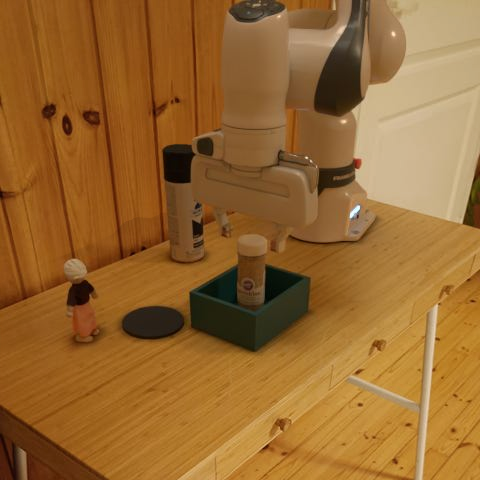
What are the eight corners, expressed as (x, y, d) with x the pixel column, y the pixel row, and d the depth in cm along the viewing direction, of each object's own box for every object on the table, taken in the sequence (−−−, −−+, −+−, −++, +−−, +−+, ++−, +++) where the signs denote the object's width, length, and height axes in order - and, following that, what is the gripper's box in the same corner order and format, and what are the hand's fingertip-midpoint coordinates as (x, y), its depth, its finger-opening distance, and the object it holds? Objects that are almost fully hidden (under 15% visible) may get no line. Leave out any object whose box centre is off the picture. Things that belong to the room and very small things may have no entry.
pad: (151, 302, 104) (151, 300, 104) (196, 319, 100) (196, 317, 99) (109, 326, 98) (108, 323, 98) (155, 345, 93) (155, 343, 93)
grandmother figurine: (83, 323, 99) (69, 248, 91) (106, 326, 98) (94, 250, 90) (65, 348, 93) (49, 270, 85) (89, 351, 92) (75, 273, 84)
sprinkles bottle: (236, 324, 98) (236, 244, 90) (237, 311, 102) (237, 232, 93) (264, 325, 98) (267, 244, 90) (264, 311, 102) (267, 232, 93)
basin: (247, 291, 108) (247, 258, 104) (308, 311, 102) (311, 277, 98) (190, 326, 98) (189, 291, 94) (255, 351, 92) (255, 315, 88)
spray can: (199, 264, 116) (194, 154, 104) (165, 261, 117) (156, 152, 105) (207, 251, 121) (204, 144, 109) (175, 248, 122) (168, 141, 110)
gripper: (331, 153, 80) (321, 253, 89) (210, 130, 90) (211, 222, 98) (306, 163, 76) (299, 267, 85) (182, 138, 86) (186, 234, 94)
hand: (251, 243), depth 92 cm, fingers open, 8 cm apart
